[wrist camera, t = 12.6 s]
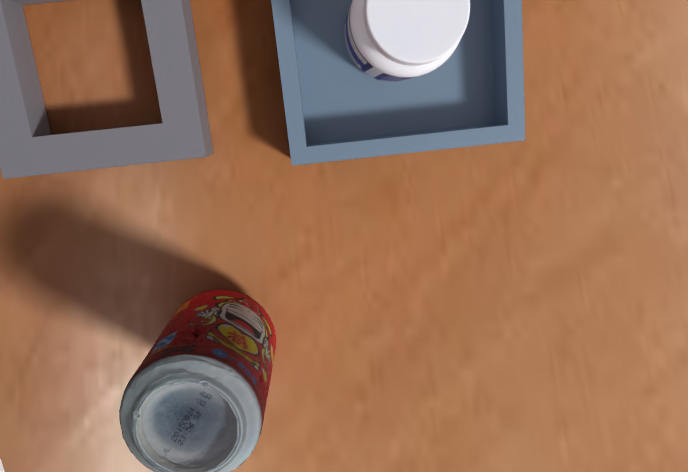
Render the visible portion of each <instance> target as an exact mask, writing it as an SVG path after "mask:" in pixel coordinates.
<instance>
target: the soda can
mask: <svg viewBox="0 0 688 472" xmlns="http://www.w3.org/2000/svg"><path fill="white" fill-rule="evenodd" d="M275 349H276V335H275V330H274V326H273V323H272V321H271V319H270V317H269V316H268V314H267V313H266V311H265V310H264V308H263V307H262V306H260V305H259V304H258V303H257V302H256V301H255V300H253V299H252V298H250V297H249V296H247V295H245V294H243V293H240V292H236V291H232V290H218V289H216V290H210V291H206V292H203V293H200V294H197V295H195V296H193V297H192V298H190V299H189V300H187V301H186V302H185V303H183V304H182V305H181V306H180V308H179V309H178V310H177V312H176V313H175V314H174V316H173V317H172V319H171V320H170V321H169V323H168V324H167V326H166V327H165V329H164V330H163V332H162V333H161V335H160V336H159V338H158V339H157V341H156V343H155V344H154V346H153V347H152V349H151V350H150V352H149V353H148V355H147V356H146V358H145V359H144V360H143V362H142V364H141V365H140V367H139V368H138V370H137V371H136V372H135V374H134V375H133V377H132V378H131V379H130V381H129V383H128V385H127V387H126V389H125V391H124V394H123V398H122V401H121V406H120V410H119V412H120V424H121V429H122V435H123V438H124V440H125V442H126V444H127V446H128V448H129V450H130V451H131V453H133V454H134V456H135V457H136V458H137V459H138V460H139V461H140V462H141V463H142V464H143V465H144V466H145V467H147V468H149V469H150V470H152V471H154V472H231V471H232V470H234V469H236V468H238V467H239V466H241V465H242V464H243V463H244V461H245V460H246V459H247V458H248V457H249V456H250V455H251V453H252V452H253V450H254V448H255V446H256V444H257V442H258V439H259V436H260V434H261V430H262V425H263V420H264V412H265V407H266V400H267V396H268V390H269V385H270V379H271V373H272V367H273V361H274V355H275Z"/></svg>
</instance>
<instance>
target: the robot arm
mask: <svg viewBox="0 0 688 472" xmlns="http://www.w3.org/2000/svg"><path fill="white" fill-rule="evenodd" d="M0 472H4V469H3V465H2V462H1V459H0Z"/></svg>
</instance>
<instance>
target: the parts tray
mask: <svg viewBox="0 0 688 472" xmlns="http://www.w3.org/2000/svg"><path fill="white" fill-rule="evenodd" d="M351 2H352V0H271V4H272V12H273V20H274V28H275V36H276V44H277V52H278V60H279V68H280V76H281V84H282V92H283V100H284V108H285V116H286V124H287V132H288V140H289V148H290V156H291V164H292V165H301V164H311V163H320V162H329V161H338V160H347V159H357V158H366V157H375V156H384V155H394V154H403V153H412V152H421V151H430V150H440V149H449V148H458V147H467V146H477V145H486V144H495V143H504V142H513V141H523V140H525V110H524V74H523V37H522V1H521V0H470V15H469V20H468V24H467V27H466V29H465V32H464V34H463V36H462V37H461V39H460V42H459V44H458V46H457V47H456V49H455V51H454V52H453V53H452V55H451V56H450V57H449V58H448V59H447V60H446V61H445V62H444V63H443V64H442V65H441V66H439V67H438V68H436V69H435V70H433V71H431V72H429V73H427V74H425V75H422V76H418V77H415V78H411V79H407V80H403V81H398V82H384V81H380V80H377V79H374V78H372V77H370V76H368V75H366V74H365V73H364V72H362V71H361V70H360V69H359V68H358V67H357V66H356V65H355V63H354V62H353V60H352V59H351V57H350V55H349V53H348V50H347V47H346V43H345V36H344V30H345V22H346V17H347V14H348V11H349V8H350V5H351Z"/></svg>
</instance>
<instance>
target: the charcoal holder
mask: <svg viewBox="0 0 688 472" xmlns="http://www.w3.org/2000/svg"><path fill="white" fill-rule="evenodd" d="M60 1H69V0H0V168H1V172H2V176H3V179H6V178H15V177H25V176H34V175H43V174H52V173H62V172H71V171H80V170H89V169H99V168H108V167H117V166H127V165H136V164H145V163H154V162H164V161H173V160H182V159H191V158H201V157H207V156H209V155H211V154H213V146H212V140H211V133H210V127H209V121H208V114H207V108H206V101H205V95H204V89H203V82H202V76H201V70H200V63H199V57H198V50H197V44H196V38H195V31H194V25H193V18H192V12H191V6H190V0H141V3H142V9H143V14H144V20H145V26H146V31H147V37H148V43H149V49H150V54H151V60H152V66H153V71H154V77H155V83H156V88H157V94H158V100H159V106H160V111H161V117H162V123H155V124H146V125H136V126H127V127H118V128H108V129H99V130H89V131H80V132H71V133H61V134H52V135H51V131H50V127H49V122H48V118H47V113H46V109H45V104H44V100H43V95H42V91H41V86H40V82H39V77H38V73H37V68H36V64H35V59H34V55H33V50H32V46H31V41H30V37H29V32H28V28H27V23H26V19H25V14H24V10H23V5H30V4H40V3H50V2H60Z"/></svg>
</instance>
